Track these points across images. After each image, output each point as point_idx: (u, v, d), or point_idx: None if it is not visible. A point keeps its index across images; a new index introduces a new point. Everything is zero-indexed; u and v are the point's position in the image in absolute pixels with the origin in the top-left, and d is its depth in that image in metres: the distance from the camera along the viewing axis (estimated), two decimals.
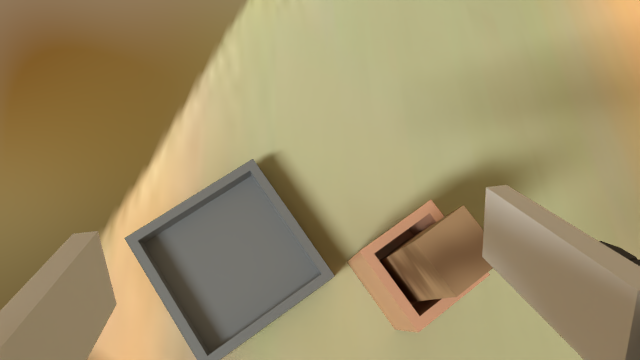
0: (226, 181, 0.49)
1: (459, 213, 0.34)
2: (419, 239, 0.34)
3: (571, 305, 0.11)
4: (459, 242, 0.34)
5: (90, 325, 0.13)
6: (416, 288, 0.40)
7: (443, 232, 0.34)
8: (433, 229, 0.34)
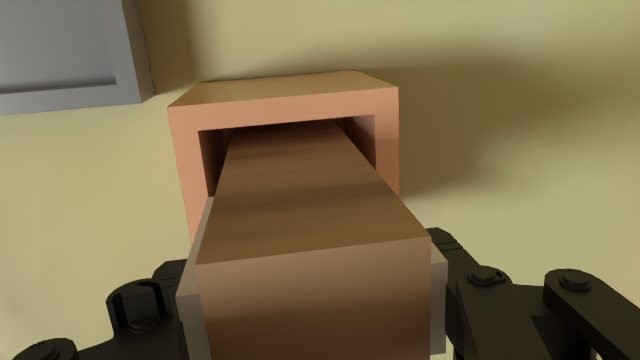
0: None
1: (398, 252, 0.10)
2: (214, 267, 0.09)
3: None
4: (337, 330, 0.10)
5: None
6: None
7: (305, 283, 0.09)
8: (281, 260, 0.09)
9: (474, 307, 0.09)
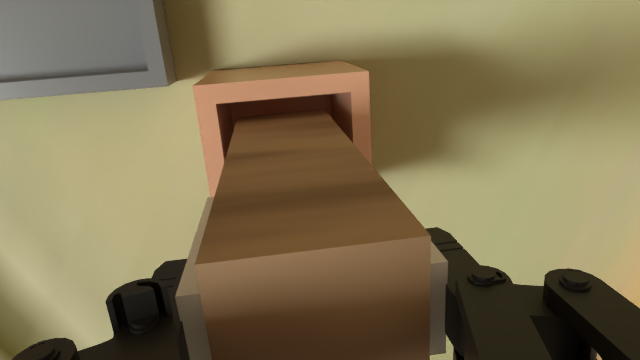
0: None
1: (398, 252, 0.10)
2: (214, 266, 0.09)
3: None
4: (337, 329, 0.10)
5: None
6: None
7: (305, 283, 0.09)
8: (281, 259, 0.09)
9: (474, 307, 0.09)
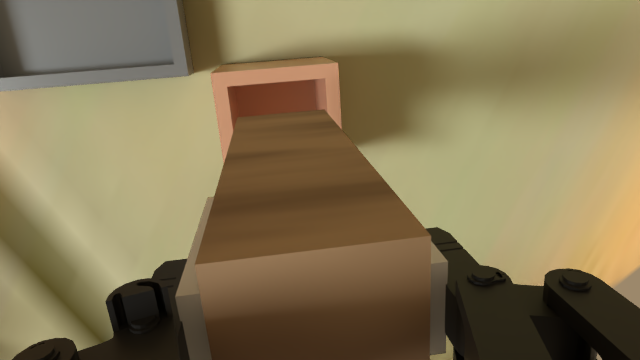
0: None
1: (398, 252, 0.10)
2: (214, 267, 0.09)
3: None
4: (337, 329, 0.10)
5: None
6: None
7: (305, 283, 0.09)
8: (281, 259, 0.09)
9: (474, 307, 0.09)
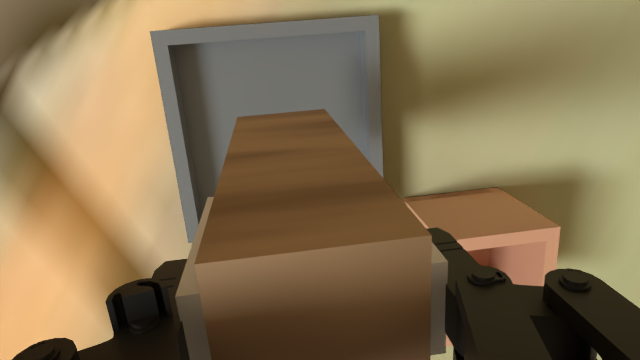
0: (326, 28, 0.31)
1: (399, 252, 0.09)
2: (214, 266, 0.09)
3: None
4: (337, 330, 0.10)
5: None
6: None
7: (305, 282, 0.09)
8: (281, 259, 0.09)
9: (474, 307, 0.09)
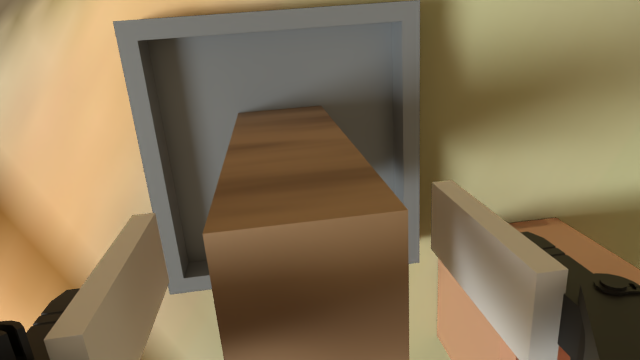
0: (349, 17, 0.24)
1: (380, 224, 0.11)
2: (219, 236, 0.10)
3: (493, 290, 0.12)
4: (327, 293, 0.11)
5: (153, 297, 0.14)
6: None
7: (298, 251, 0.11)
8: (278, 230, 0.11)
9: (599, 315, 0.09)
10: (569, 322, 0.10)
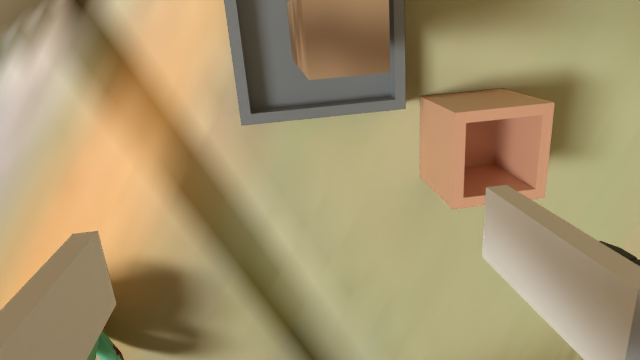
0: None
1: None
2: None
3: (571, 305, 0.11)
4: (353, 24, 0.26)
5: (90, 325, 0.13)
6: (297, 50, 0.33)
7: (341, 1, 0.25)
8: None
9: None
10: None
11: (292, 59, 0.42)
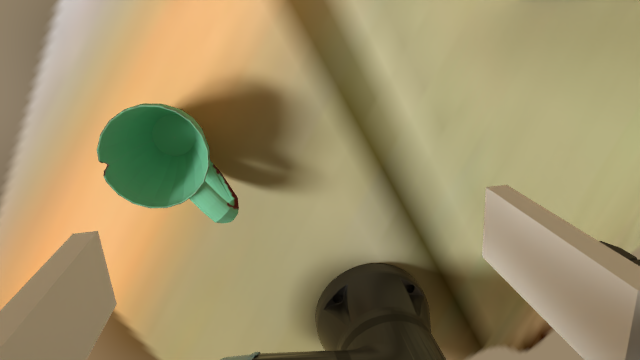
0: None
1: None
2: None
3: (571, 305, 0.11)
4: None
5: (90, 325, 0.13)
6: None
7: None
8: None
9: None
10: None
11: None
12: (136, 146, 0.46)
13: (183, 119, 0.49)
